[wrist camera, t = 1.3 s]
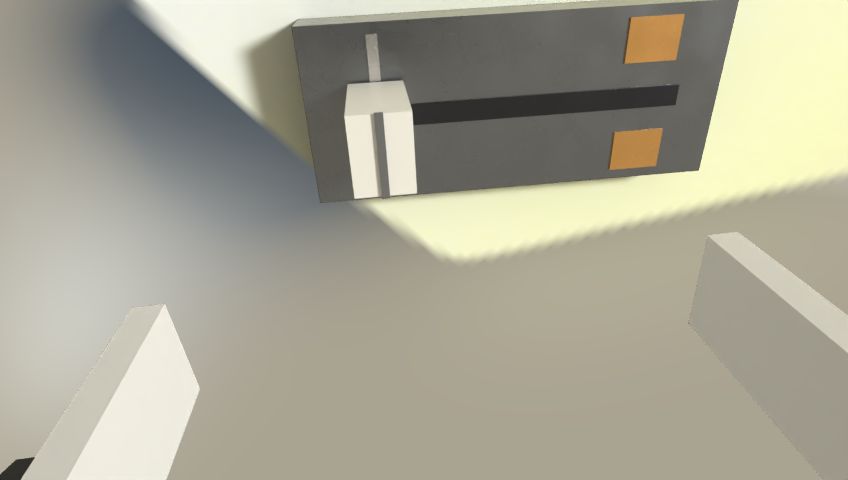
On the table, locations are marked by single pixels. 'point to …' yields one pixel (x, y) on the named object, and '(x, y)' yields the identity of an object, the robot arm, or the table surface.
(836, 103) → the table surface
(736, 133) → the table surface
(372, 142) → the fader
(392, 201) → the table surface
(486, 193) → the table surface
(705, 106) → the fader panel
